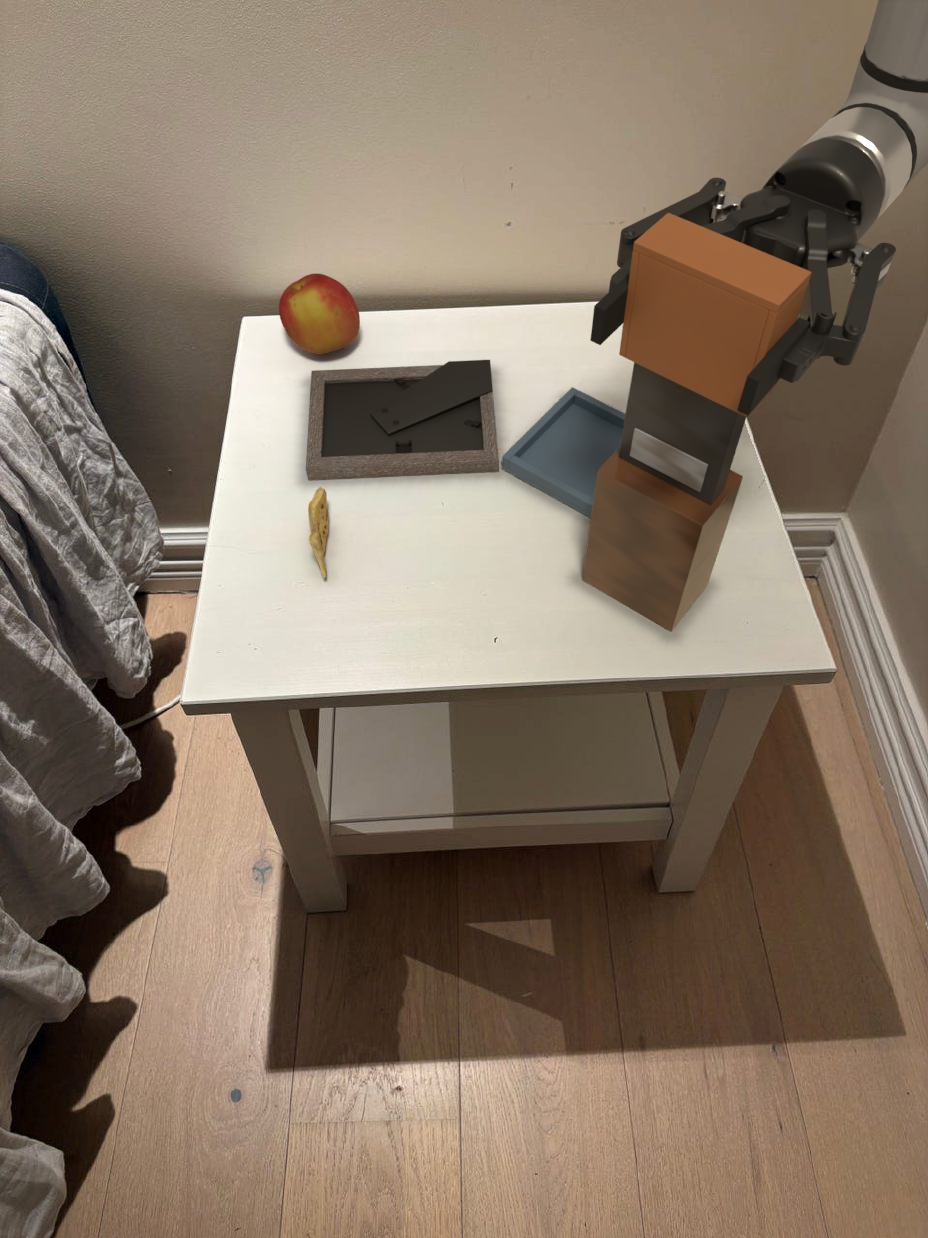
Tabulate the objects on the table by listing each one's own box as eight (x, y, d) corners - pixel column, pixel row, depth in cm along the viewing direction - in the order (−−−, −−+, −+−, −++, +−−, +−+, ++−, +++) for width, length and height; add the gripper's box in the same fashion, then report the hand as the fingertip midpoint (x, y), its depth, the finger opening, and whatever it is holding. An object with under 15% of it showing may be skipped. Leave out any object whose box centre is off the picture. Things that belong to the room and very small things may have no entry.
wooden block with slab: (707, 585, 84) (785, 348, 62) (671, 632, 81) (739, 401, 59) (619, 536, 87) (664, 295, 65) (581, 579, 84) (616, 342, 63)
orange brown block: (776, 385, 63) (812, 271, 56) (747, 417, 61) (779, 304, 54) (649, 325, 67) (668, 211, 60) (618, 354, 65) (633, 241, 58)
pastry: (314, 510, 89) (306, 473, 85) (331, 509, 89) (323, 472, 85) (313, 587, 84) (304, 552, 80) (331, 586, 84) (323, 551, 80)
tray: (689, 460, 92) (692, 447, 90) (623, 536, 87) (625, 524, 85) (570, 400, 97) (572, 386, 95) (501, 469, 92) (501, 455, 90)
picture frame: (490, 374, 99) (313, 382, 99) (490, 359, 97) (310, 367, 97) (498, 471, 91) (308, 480, 91) (499, 456, 90) (304, 465, 89)
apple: (340, 312, 105) (330, 247, 98) (374, 355, 101) (367, 291, 94) (275, 336, 103) (261, 272, 96) (308, 382, 99) (296, 318, 92)
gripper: (966, 293, 68) (822, 484, 58) (686, 184, 76) (518, 336, 66) (1014, 194, 61) (862, 390, 52) (704, 86, 69) (522, 238, 60)
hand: (670, 359), depth 59 cm, fingers closed on orange brown block, 10 cm apart
